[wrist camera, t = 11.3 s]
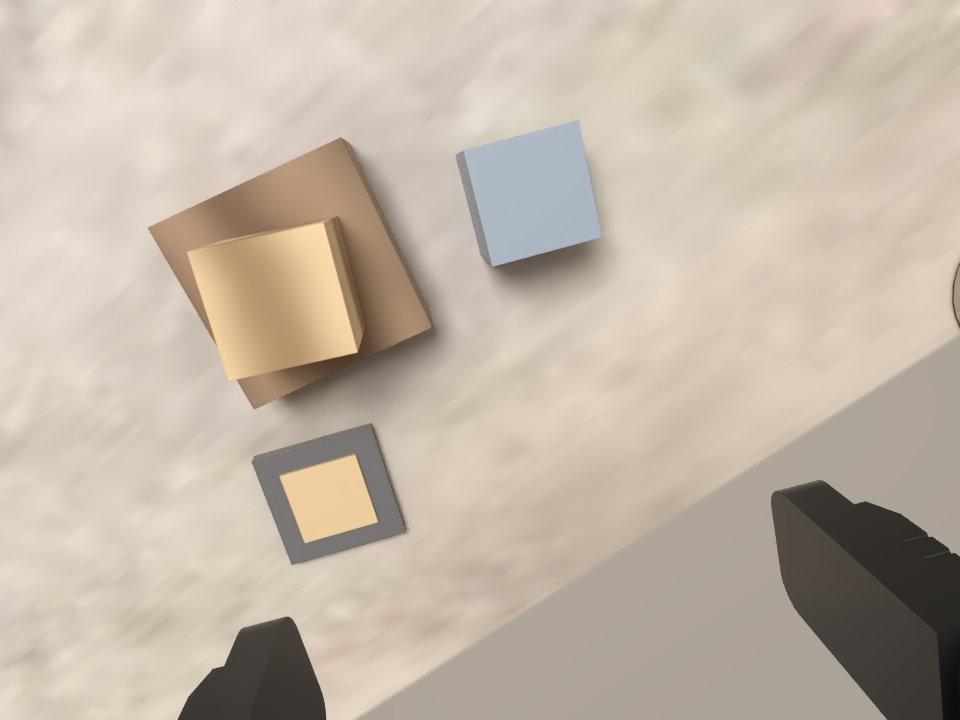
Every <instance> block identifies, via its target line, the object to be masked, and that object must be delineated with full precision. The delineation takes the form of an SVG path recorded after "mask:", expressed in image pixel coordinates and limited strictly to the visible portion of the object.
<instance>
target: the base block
mask: <svg viewBox="0 0 960 720" xmlns="http://www.w3.org/2000/svg"><path fill="white" fill-rule="evenodd" d="M334 216H338V220H339V224H340V228H341V232H342V236H343V239H344V243H345V247H346V251H347V255H348V259H349V263H350V267H351V271H352V274H353V278H354V282H355V286H356V290H357V294H358V298H359V302H360V306H361V309H362V313H363V317H364V321H365V325H366V326H365V329H364V333H363V336H362V339H361V343H360V346H359V350H358V353H353V354H349V355H344V356H340V357H335V358H331V359H326V360H322V361H317V362H313V363H308V364H304V365H299V366H295V367H290V368H286V369H281V370H277V371H272V372H268V373H263V374H259V375H254V376H250V377H245V378H241V379H236V380H237V381H238V383H239V385H240V386H241V388H242V390H243V392H244V393H245V395H246V397H247V398H248V400H249V402H250V403H251V405H252V407H253V409H256V408H259V407H261V406H263V405H265V404H267V403H269V402H272V401H274V400H276V399H278V398H280V397H282V396H285V395H287V394H289V393H291V392H293V391H295V390H298V389H300V388H302V387H304V386H306V385H308V384H310V383H313V382H315V381H317V380H319V379H321V378H323V377H326V376H328V375H330V374H332V373H334V372H336V371H339V370H341V369H343V368H345V367H347V366H349V365H352V364H354V363H356V362H358V361H360V360H362V359H365V358H367V357H369V356H371V355H373V354H375V353H378V352H380V351H382V350H384V349H386V348H388V347H391V346H393V345H395V344H397V343H399V342H401V341H404V340H406V339H408V338H410V337H412V336H414V335H417V334H419V333H421V332H423V331H425V330H427V329H430V328H432V323H431V317H430V311H429V309H428V307H427V305H426V303H425V301H424V299H423V297H422V295H421V293H420V291H419V288H418V286H417V284H416V282H415V280H414V278H413V276H412V274H411V272H410V270H409V268H408V266H407V263H406V261H405V259H404V257H403V255H402V253H401V251H400V249H399V247H398V245H397V243H396V240H395V238H394V236H393V234H392V232H391V230H390V228H389V226H388V224H387V222H386V220H385V217H384V215H383V213H382V211H381V209H380V207H379V205H378V203H377V201H376V199H375V197H374V195H373V192H372V190H371V188H370V186H369V184H368V182H367V180H366V178H365V176H364V174H363V172H362V169H361V167H360V165H359V163H358V161H357V159H356V157H355V155H354V153H353V151H352V149H351V146H350V144H349V142H347V141H346V140H344V139H342V138H338V139H336V140H334V141H332V142H330V143H328V144H326V145H324V146H321V147H319V148H317V149H315V150H313V151H311V152H309V153H306V154H304V155H302V156H300V157H298V158H296V159H294V160H291V161H289V162H287V163H285V164H283V165H281V166H279V167H277V168H274V169H272V170H270V171H268V172H266V173H264V174H262V175H259V176H257V177H255V178H253V179H251V180H249V181H247V182H244V183H242V184H240V185H238V186H236V187H234V188H232V189H230V190H227V191H225V192H223V193H221V194H219V195H217V196H215V197H212V198H210V199H208V200H206V201H204V202H202V203H200V204H197V205H195V206H193V207H191V208H189V209H187V210H185V211H182V212H180V213H178V214H176V215H174V216H172V217H170V218H168V219H165V220H163V221H161V222H159V223H157V224H155V225H153V226H150V227H148V229H149V231H150V233H151V234H152V236H153V238H154V240H155V241H156V243H157V245H158V246H159V248H160V250H161V252H162V253H163V255H164V257H165V258H166V260H167V262H168V263H169V265H170V267H171V269H172V270H173V272H174V274H175V275H176V277H177V279H178V281H179V282H180V284H181V286H182V287H183V289H184V291H185V292H186V294H187V296H188V298H189V299H190V301H191V303H192V304H193V306H194V308H195V310H196V311H197V313H198V315H199V316H200V318H201V320H202V322H203V323H204V325H205V327H206V328H207V330H208V332H209V333H210V335H211V337H212V339H213V340H214V342H215V344H216V341H215V338H214V334H213V331H212V328H211V325H210V322H209V319H208V316H207V313H206V310H205V307H204V304H203V300H202V297H201V294H200V291H199V288H198V285H197V282H196V279H195V276H194V273H193V270H192V266H191V263H190V260H189V257H188V254H187V252H188V251H191V250H194V249H197V248H201V247H204V246H207V245H210V244H213V243H216V242H219V241H222V240H226V239H231V238H236V237H240V236H245V235H250V234H255V233H259V232H264V231H269V230H273V229H278V228H283V227H287V226H292V225H297V224H302V223H306V222H311V221H316V220H320V219H325V218H330V217H334ZM216 345H217V344H216Z"/></svg>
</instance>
